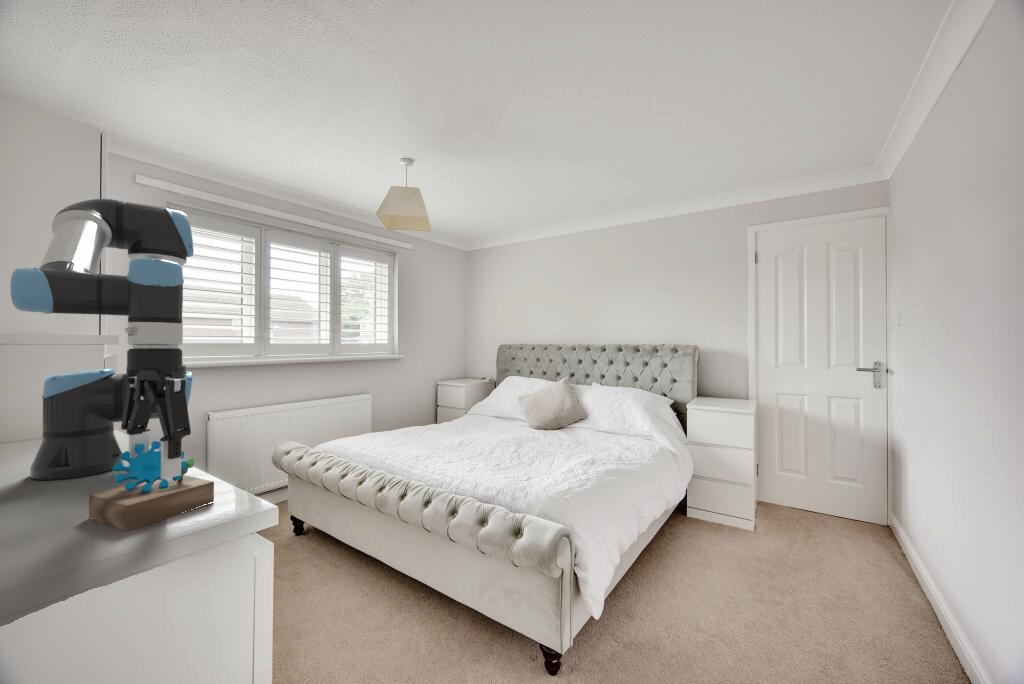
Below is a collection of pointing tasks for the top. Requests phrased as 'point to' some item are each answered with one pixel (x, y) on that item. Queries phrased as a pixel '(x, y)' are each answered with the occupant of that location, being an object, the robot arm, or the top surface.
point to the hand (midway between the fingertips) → (154, 473)
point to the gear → (146, 468)
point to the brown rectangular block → (149, 502)
